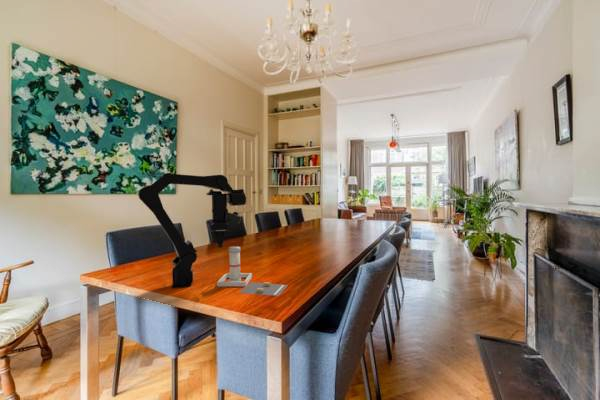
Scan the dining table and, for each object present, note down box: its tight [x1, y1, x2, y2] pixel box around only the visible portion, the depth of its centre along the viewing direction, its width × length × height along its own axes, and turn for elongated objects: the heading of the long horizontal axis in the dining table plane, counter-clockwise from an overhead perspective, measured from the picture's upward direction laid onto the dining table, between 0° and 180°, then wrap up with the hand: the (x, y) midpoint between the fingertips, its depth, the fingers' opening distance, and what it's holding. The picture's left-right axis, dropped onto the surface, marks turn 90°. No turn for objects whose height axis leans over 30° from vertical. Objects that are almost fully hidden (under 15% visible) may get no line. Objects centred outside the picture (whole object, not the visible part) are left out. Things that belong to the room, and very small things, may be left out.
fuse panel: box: [238, 281, 288, 297], centre depth 93 cm, size 14×10×2 cm
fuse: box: [228, 246, 242, 281], centre depth 101 cm, size 4×4×13 cm
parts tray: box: [216, 272, 253, 287], centre depth 101 cm, size 10×10×2 cm
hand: (220, 245), depth 109 cm, fingers open, 9 cm apart
